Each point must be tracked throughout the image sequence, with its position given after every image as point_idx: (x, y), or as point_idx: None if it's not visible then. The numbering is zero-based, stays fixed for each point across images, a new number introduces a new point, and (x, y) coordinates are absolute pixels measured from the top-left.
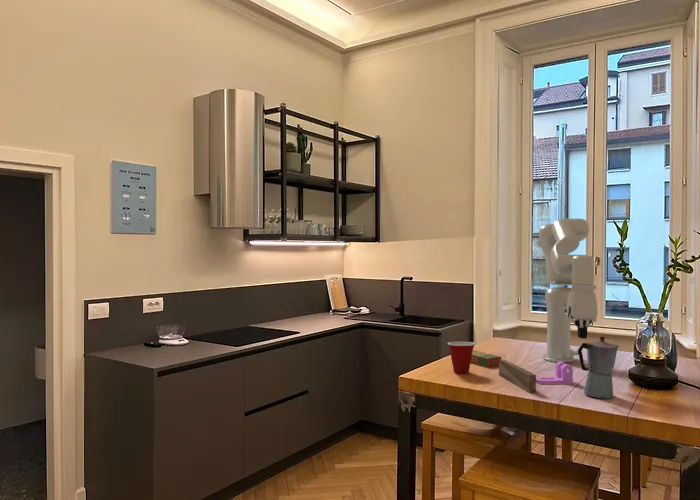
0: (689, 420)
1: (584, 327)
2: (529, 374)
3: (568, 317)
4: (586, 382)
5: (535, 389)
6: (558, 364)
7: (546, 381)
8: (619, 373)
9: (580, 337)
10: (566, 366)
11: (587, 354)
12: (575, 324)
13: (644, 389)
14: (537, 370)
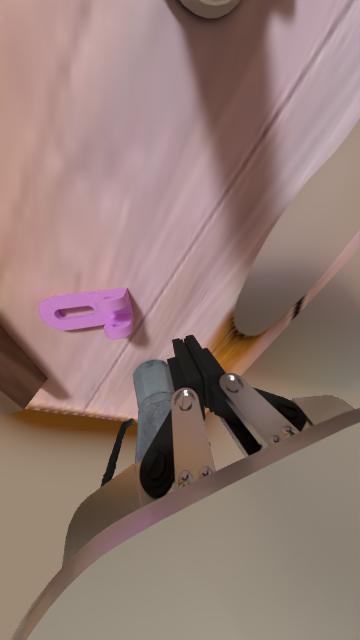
0: None
1: (211, 404)
2: (4, 409)
3: (60, 578)
4: (135, 388)
5: (42, 383)
6: (98, 310)
7: (72, 328)
8: (262, 235)
9: (175, 355)
10: (114, 337)
11: (137, 439)
12: (161, 429)
13: (228, 337)
14: (57, 167)
